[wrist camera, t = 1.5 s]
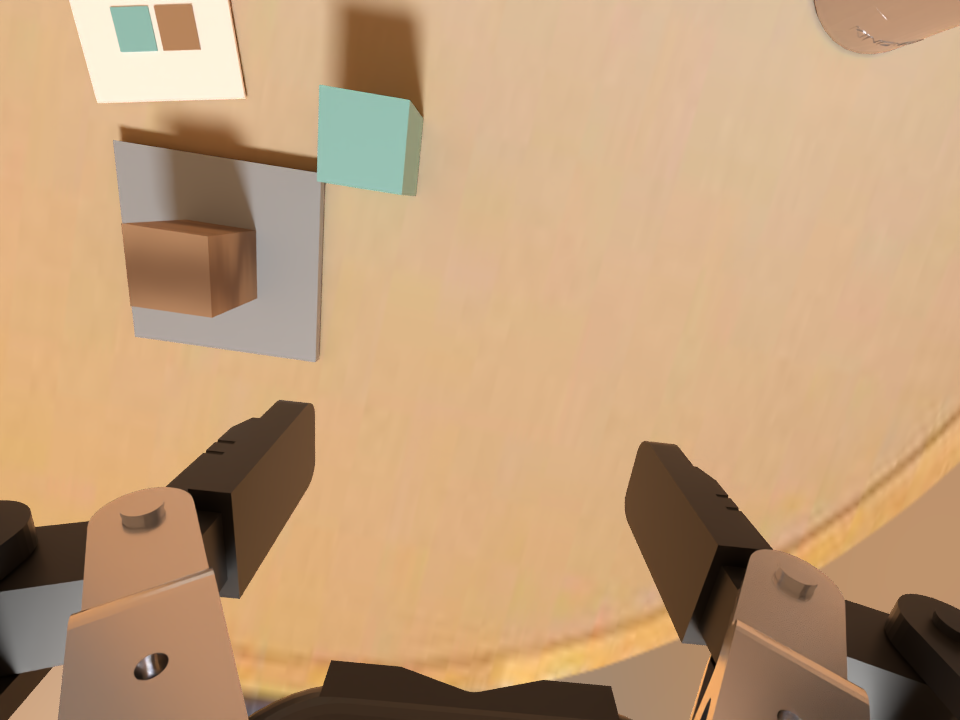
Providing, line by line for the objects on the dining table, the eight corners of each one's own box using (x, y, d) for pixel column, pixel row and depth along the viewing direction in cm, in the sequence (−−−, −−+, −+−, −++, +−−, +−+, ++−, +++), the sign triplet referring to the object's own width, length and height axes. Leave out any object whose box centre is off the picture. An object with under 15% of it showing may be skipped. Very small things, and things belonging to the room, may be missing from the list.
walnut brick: (185, 219, 32) (121, 223, 26) (256, 230, 32) (207, 236, 27) (190, 288, 34) (130, 306, 28) (257, 298, 34) (211, 317, 28)
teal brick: (349, 106, 30) (319, 84, 25) (423, 118, 31) (410, 99, 25) (346, 185, 32) (316, 181, 26) (415, 196, 32) (401, 194, 27)
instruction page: (59, -45, 28) (54, -47, 27) (220, -50, 27) (217, -53, 27) (99, 103, 30) (95, 102, 30) (246, 98, 30) (244, 97, 30)
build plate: (121, 141, 31) (113, 140, 30) (324, 173, 32) (320, 173, 31) (142, 333, 36) (135, 336, 35) (319, 358, 36) (315, 362, 36)
